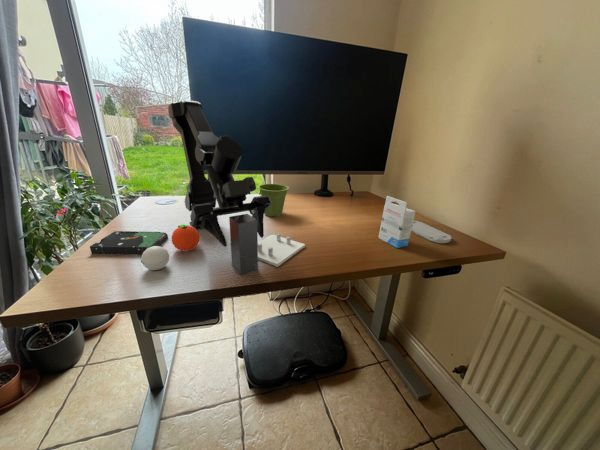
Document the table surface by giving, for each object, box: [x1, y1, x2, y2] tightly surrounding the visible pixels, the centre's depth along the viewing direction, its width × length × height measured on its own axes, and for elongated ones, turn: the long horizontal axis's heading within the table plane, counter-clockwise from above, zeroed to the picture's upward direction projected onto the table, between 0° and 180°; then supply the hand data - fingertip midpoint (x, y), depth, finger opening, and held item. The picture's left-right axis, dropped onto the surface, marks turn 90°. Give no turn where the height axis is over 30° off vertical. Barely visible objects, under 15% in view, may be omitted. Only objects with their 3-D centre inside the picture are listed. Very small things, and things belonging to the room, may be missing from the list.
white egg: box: [140, 246, 170, 271], centre depth 55 cm, size 8×6×6 cm
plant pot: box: [257, 183, 290, 218], centre depth 95 cm, size 12×12×11 cm
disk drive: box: [89, 230, 169, 256], centre depth 66 cm, size 10×3×15 cm
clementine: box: [171, 224, 201, 252], centre depth 65 cm, size 8×7×7 cm
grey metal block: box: [228, 213, 259, 276], centre depth 57 cm, size 5×4×13 cm
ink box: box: [378, 195, 416, 249], centre depth 76 cm, size 8×5×15 cm, turn 26°
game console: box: [411, 220, 452, 245], centre depth 87 cm, size 18×2×8 cm
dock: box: [258, 233, 306, 268], centre depth 68 cm, size 12×14×3 cm
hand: (245, 241), depth 56 cm, fingers open, 9 cm apart
